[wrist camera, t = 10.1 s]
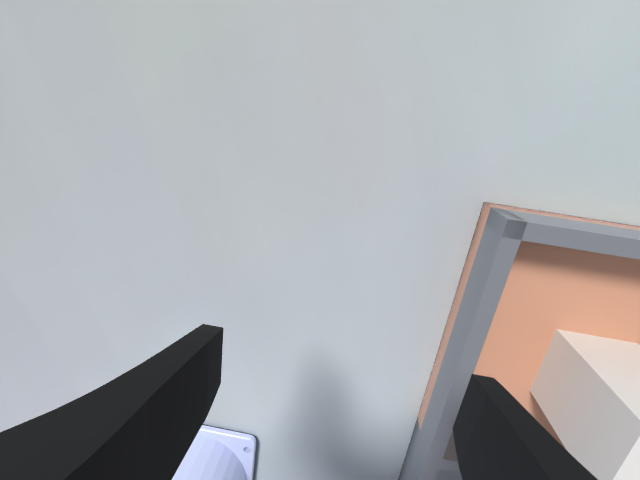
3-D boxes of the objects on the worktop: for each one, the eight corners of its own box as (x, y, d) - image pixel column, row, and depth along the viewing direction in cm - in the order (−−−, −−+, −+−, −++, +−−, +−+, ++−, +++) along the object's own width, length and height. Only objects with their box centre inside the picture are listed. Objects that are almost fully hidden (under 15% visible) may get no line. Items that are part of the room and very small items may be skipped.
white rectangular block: (604, 403, 19) (705, 524, 13) (529, 390, 19) (598, 502, 14) (637, 343, 18) (766, 449, 12) (556, 329, 18) (645, 426, 12)
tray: (562, 595, 26) (586, 653, 23) (375, 554, 27) (376, 606, 24) (786, 249, 16) (873, 277, 14) (483, 202, 17) (507, 219, 14)
